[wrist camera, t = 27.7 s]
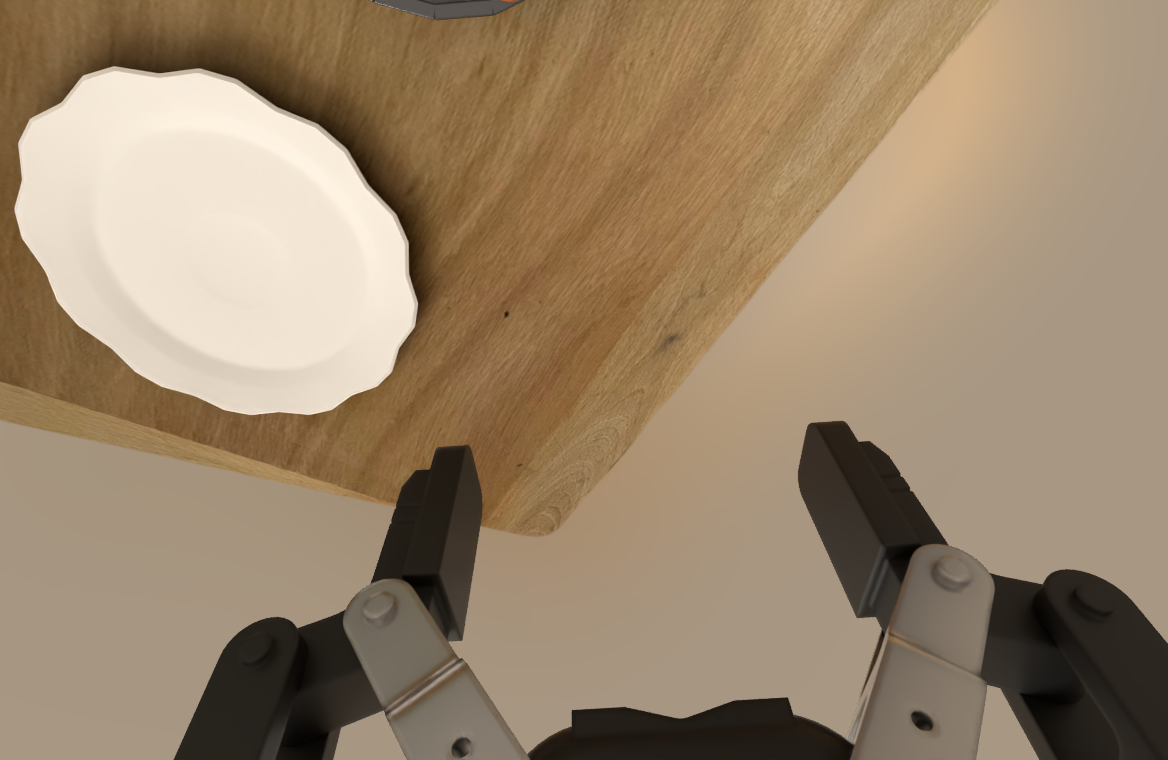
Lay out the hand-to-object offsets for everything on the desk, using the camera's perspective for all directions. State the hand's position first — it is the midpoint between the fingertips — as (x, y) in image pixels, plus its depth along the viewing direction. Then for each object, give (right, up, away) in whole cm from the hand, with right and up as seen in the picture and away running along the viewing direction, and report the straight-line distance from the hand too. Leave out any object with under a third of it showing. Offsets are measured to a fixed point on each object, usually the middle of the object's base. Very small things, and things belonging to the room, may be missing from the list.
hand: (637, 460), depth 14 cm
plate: (-26, +10, +27) cm, 39 cm away
